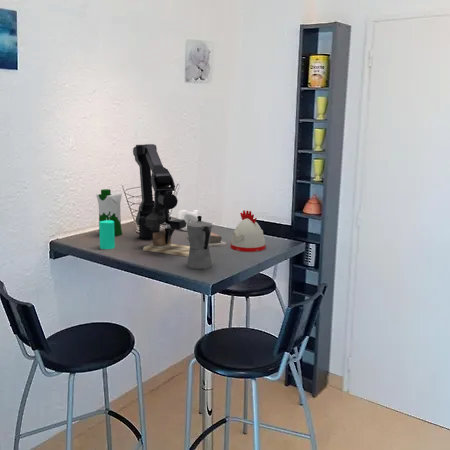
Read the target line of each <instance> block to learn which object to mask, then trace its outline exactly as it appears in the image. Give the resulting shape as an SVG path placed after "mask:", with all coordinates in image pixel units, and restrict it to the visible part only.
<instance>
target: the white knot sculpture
mask: <svg viewBox="0 0 450 450" xmlns="http://www.w3.org/2000/svg"><path fill="white" fill-rule="evenodd" d="M197 216H200V211H199V209H193V210H192V211H189V210H187V209H181V210H179V211H178V212H177V214H176V216H175V219H181V220H185V222H186V227H184V228H182V229H180V230H182V232H183V231H184V232H188V231H187V223H190V222H193V221H198V218H197Z"/></svg>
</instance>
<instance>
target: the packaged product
mask: <svg viewBox="0 0 450 450" xmlns="http://www.w3.org/2000/svg"><path fill="white" fill-rule="evenodd" d="M186 239H187V240H189V238H188V235H186ZM222 239H223V238H222V236H221V235H220V234H216V233H215V232H212V231H211V235H210V242H209V248H213V247H221V246H222V247H223V246H227V242H225V241H223V240H222Z"/></svg>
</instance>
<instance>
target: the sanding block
mask: <svg viewBox="0 0 450 450" xmlns="http://www.w3.org/2000/svg"><path fill="white" fill-rule="evenodd" d="M152 244H153V247H156V248H164V247H166V246H169V245H171V244H172V237H171V238H170V241H169V243H168V244H167V245H166V232H165V230H164V229H162V230H161V229H160V231H158V232H155V233H153V239H152Z"/></svg>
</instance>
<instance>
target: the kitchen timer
mask: <svg viewBox="0 0 450 450" xmlns="http://www.w3.org/2000/svg"><path fill="white" fill-rule="evenodd" d="M239 214H240V218H241V221H240V222H239V223H238V224H237V226H236V227H235V228H234V231H233V232H232V236H231V239H230V249H232V250H234V251H238V252H247V253H253V252H261V251H265V249H266V239H265V235H264V230H263V229H262V228H261V226H260V225H259V223H258V222H257V217H255V214H252V210H245V209H244V210H243V211H242V212H240V213H239ZM254 217H255V218H254Z"/></svg>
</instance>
